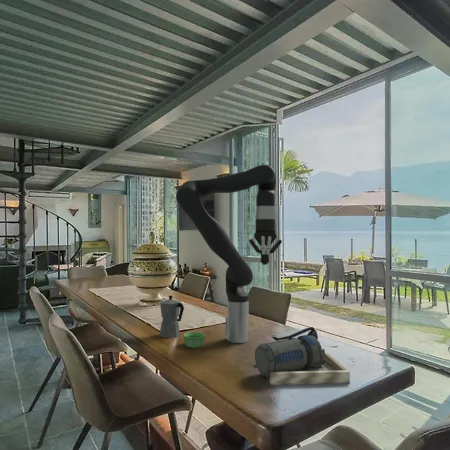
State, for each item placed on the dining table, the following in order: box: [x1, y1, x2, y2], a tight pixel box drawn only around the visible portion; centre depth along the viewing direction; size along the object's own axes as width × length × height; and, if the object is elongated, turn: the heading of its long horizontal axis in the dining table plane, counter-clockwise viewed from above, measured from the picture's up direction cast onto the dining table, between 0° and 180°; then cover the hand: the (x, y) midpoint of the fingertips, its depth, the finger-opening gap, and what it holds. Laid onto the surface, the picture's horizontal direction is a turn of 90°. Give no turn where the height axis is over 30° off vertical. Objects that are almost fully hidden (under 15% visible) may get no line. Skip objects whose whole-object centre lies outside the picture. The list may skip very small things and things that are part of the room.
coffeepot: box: [159, 295, 185, 339], centre depth 157 cm, size 15×9×18 cm, turn 49°
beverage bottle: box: [254, 326, 326, 378], centre depth 117 cm, size 10×13×25 cm
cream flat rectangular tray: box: [266, 351, 351, 386], centre depth 116 cm, size 25×18×4 cm
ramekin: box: [183, 331, 206, 349], centre depth 144 cm, size 9×9×4 cm
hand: (264, 264), depth 130 cm, fingers closed
